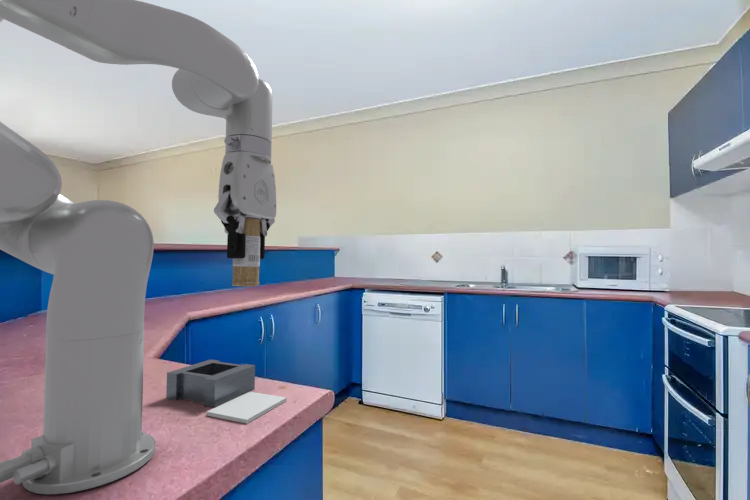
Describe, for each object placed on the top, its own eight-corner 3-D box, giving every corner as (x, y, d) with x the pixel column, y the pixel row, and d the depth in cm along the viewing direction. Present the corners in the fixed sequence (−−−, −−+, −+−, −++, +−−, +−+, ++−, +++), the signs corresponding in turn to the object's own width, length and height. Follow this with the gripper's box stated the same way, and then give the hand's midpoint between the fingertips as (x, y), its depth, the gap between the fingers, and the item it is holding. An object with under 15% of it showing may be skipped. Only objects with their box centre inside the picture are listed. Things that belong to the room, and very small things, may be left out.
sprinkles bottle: (252, 285, 67) (254, 210, 67) (264, 286, 63) (265, 207, 64) (227, 285, 64) (229, 207, 64) (237, 287, 60) (239, 204, 61)
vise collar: (214, 407, 63) (214, 380, 63) (166, 398, 67) (166, 372, 67) (254, 388, 72) (255, 365, 72) (210, 381, 76) (210, 359, 76)
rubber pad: (246, 423, 56) (247, 419, 56) (206, 415, 59) (206, 411, 59) (286, 401, 66) (286, 397, 66) (249, 394, 69) (249, 391, 69)
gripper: (232, 134, 55) (229, 257, 55) (294, 163, 71) (292, 259, 70) (193, 139, 58) (189, 257, 57) (261, 166, 74) (259, 259, 73)
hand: (246, 257), depth 64 cm, fingers closed on sprinkles bottle, 4 cm apart
